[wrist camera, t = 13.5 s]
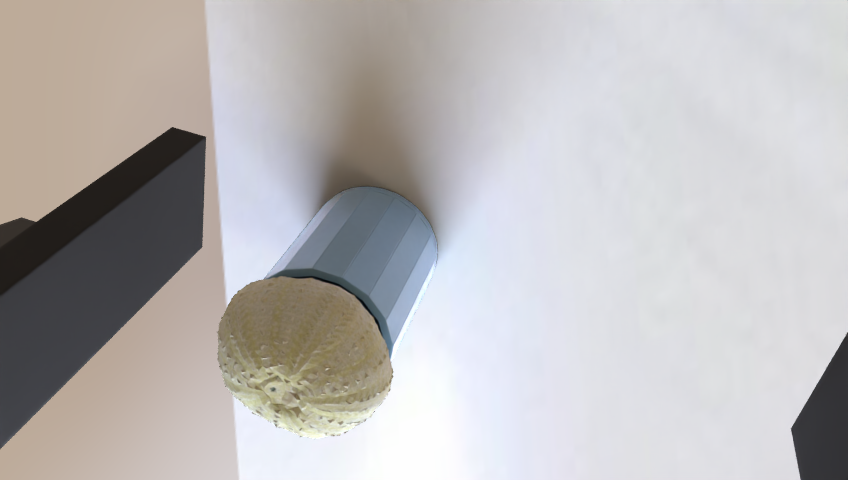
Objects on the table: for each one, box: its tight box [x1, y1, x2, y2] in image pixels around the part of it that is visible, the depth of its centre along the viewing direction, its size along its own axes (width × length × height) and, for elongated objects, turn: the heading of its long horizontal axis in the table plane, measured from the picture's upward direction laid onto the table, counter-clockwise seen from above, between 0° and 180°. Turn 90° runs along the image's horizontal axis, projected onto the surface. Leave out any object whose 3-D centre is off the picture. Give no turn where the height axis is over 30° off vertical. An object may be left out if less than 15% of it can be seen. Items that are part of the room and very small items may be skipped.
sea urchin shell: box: [218, 276, 393, 439], centre depth 41 cm, size 9×8×8 cm
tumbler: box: [263, 187, 438, 363], centre depth 47 cm, size 8×8×10 cm
